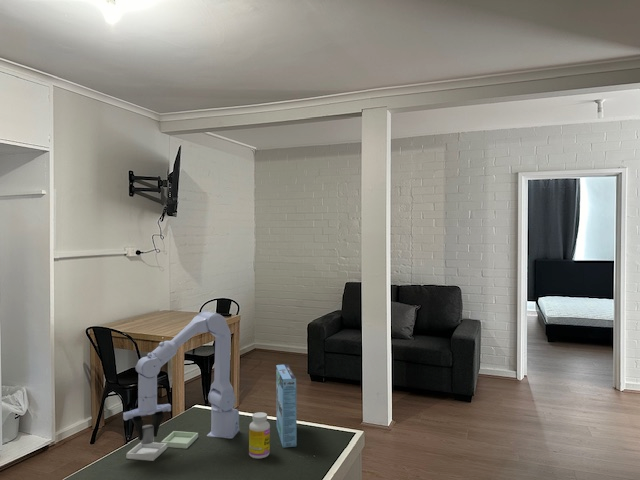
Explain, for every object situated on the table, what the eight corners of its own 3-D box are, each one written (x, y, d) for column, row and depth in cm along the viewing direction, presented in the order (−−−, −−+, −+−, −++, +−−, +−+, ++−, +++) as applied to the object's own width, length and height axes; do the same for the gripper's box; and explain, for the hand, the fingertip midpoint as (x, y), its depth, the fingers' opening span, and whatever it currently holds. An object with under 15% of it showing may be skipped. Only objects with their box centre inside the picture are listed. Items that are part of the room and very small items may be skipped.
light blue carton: (296, 447, 160) (297, 378, 160) (281, 448, 159) (282, 379, 159) (288, 425, 179) (289, 363, 179) (275, 426, 178) (275, 364, 178)
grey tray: (166, 449, 157) (166, 443, 157) (153, 461, 148) (153, 455, 148) (141, 447, 158) (141, 441, 158) (126, 459, 149) (126, 453, 149)
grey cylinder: (156, 439, 155) (156, 425, 155) (150, 444, 151) (150, 430, 151) (144, 438, 155) (145, 424, 155) (138, 443, 151) (138, 429, 151)
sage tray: (197, 438, 166) (198, 432, 166) (186, 449, 157) (186, 443, 157) (173, 436, 167) (173, 431, 167) (161, 447, 158) (161, 441, 158)
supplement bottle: (265, 460, 150) (266, 419, 150) (245, 458, 151) (246, 417, 151) (272, 451, 156) (272, 412, 156) (253, 449, 157) (253, 410, 158)
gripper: (127, 403, 146) (127, 447, 146) (174, 394, 154) (174, 436, 154) (121, 396, 151) (121, 439, 151) (167, 388, 160) (166, 429, 160)
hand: (147, 437), depth 153 cm, fingers closed on grey cylinder, 4 cm apart
